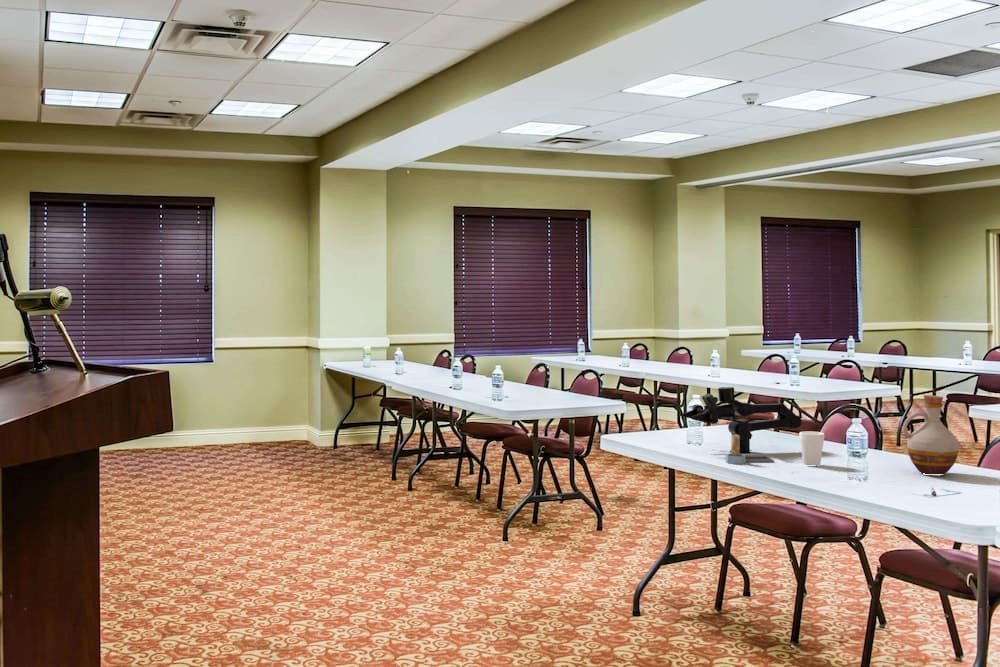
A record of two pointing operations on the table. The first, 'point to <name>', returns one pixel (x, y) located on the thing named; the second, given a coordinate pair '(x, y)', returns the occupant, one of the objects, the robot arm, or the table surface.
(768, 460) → the tray
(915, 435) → the jug
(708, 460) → the table surface
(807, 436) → the foam cup
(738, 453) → the dowel
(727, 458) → the gray square block
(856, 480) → the table surface
